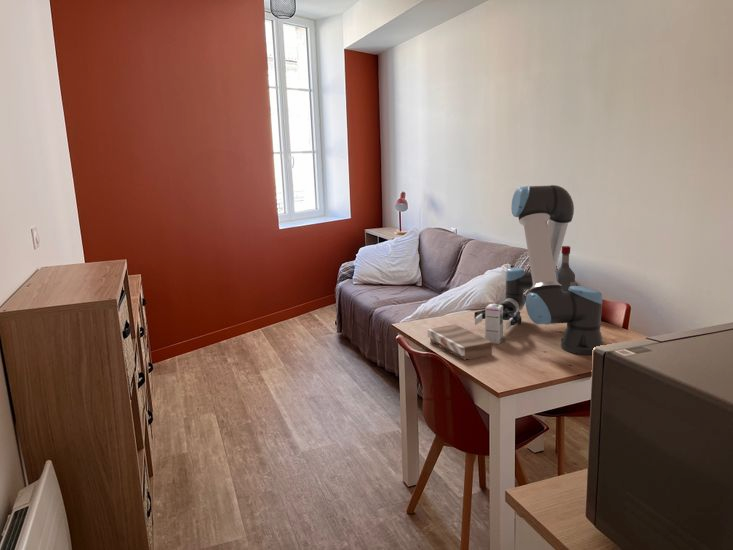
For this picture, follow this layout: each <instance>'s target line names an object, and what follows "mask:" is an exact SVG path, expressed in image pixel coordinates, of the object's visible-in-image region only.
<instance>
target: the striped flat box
mask: <svg viewBox="0 0 733 550" xmlns="http://www.w3.org/2000/svg"><path fill="white" fill-rule="evenodd" d="M427 337H428V338H429V339H430V340H431V341H430V340H429V341H430V342H432V341H433V342H435V343H436V344H435V343H434V344H435V345H437V344H438V345H440V346H441V347H440V346H439V347H440V348H442V347H443V348H442V349H444V348H445V349H446V351H447V350H448V351H447V352H449V351H450V352H449V353H451V352H452V353H453V355H454V354H455V355H454V356H456V355H457V356H456V357H458V356H459V357H461V358H462V359H461V358H460V359H461V360H463V359H464V360H465V361H467V360H466V359H470V360H473V358H474V359H478V357H479V358H483V357H487V356H492V355H493V343H492V342H491V341H489V340H487V339H485V337H482V336H480V335H479V334H477V333H474V332H472V331H470V330H468V329H466V328H464V327H462V326H459V325H458V324H456V323H455V324H450V325H445V326H439V327H433V328H428V329H427ZM433 342H432V343H433ZM438 345H437V346H438ZM445 349H444V350H445ZM452 353H451V354H452ZM459 357H458V358H459ZM464 360H463V361H464Z"/></svg>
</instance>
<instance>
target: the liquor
mask: <svg viewBox="0 0 733 550" xmlns="http://www.w3.org/2000/svg"><path fill="white" fill-rule="evenodd" d="M570 254H571V246H569V245H562V247H561V265H560V267H559V268H558V269H557V270H555V272H556V273H557V275H558V283H559V284H561V285H562V289H563V291H564V292H566V291H569V290H568V289H569V287H570V286H576V285H575V284H576V275H575V272H574V271H573V270H572V268H571V267H570V263H569V262H570Z"/></svg>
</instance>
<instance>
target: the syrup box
mask: <svg viewBox="0 0 733 550" xmlns="http://www.w3.org/2000/svg"><path fill="white" fill-rule="evenodd" d="M484 309H485V319H484V320H485V323H484V325H485V328H484V329H485V330H484V332H485V333H484V334H485V336H484V338H485V339H487V340H489V341H491V342H492V344H496V345H497V344H498V345H499V344H500V343H501V342H502V341H503V339H504V337H503V336H504V333H503V332H504V320H503V305H500V303H489V304H488V305H486V307H485V308H484Z"/></svg>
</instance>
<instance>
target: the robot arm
mask: <svg viewBox="0 0 733 550" xmlns="http://www.w3.org/2000/svg"><path fill="white" fill-rule="evenodd" d="M510 207H511V213H512V216H513V217H515V218H518V222H519V224H520V225H522V226H523V229H524V230H523V231H524V235H525V241H526V242H525V243H526V247H527V253H528V254H527V255H528V261H529V269H530V271H528V272H525V269H524V268H523V267H522V268H521V267H509V268H508V269H506V274H505V295H504V296H505V297H504V298H505V299H504V300H502V301H501V302H499V304H500V305H503V321H506V322H505V329H506V330H509V329H510V328H511V327H512V326H515V325H517V324H518V325H519V326H521V325H522V319H523V318H522V316H521V310H523V309H524V306H525V309H526V313H527V315H528V317H529V319H530V320H531V321H532V322H533V323H535V324H537V325H545V326H547V325H550V324H554V325H555V324H566V328H565V330H564V333H563V335H562V337H561V340H560V347H561V348H562V350H563V351H566V352H568V353H573V354H576V353H577V355H584V354H588V356H589V354H591V355H592V350H593V348H594V347H596V346H600V345H604V346H605V343H604V340H603V336H602V332H601V323H602V309H603V308H602V307H603V295H602V292H600V291H599V290H598V289H596V288H592V287H587V286H582V285H581V286H580V285H575V286H570V287H569V289H568V290H569V291H566V292H564V291H563V289H562V285H561V284H559V283H558V275H557V273H556V268H557V265H558V261H559V258H560V254H561V252H562V246H563V244H564V243H563V242H564V240H565V236H566V232H567V229H568V225H569V223H571V222H572V221H573V218H574V213H575V206H574V202H573V197H572V196H571V195H570V193H569V192H568V191H567V189H565V188H564V187H561V186H559V185H554V184H551V185H526V186H518V187H517V188H516V189H515V191H514V193H513V195H512V199H511V206H510ZM527 290H528V291H529V293H528V294H526V297H525V296H524V292H525V291H527ZM483 320H485V308H484V309H482V310H478V311H474V325H475V326H477V325H478V324H479V323H481V322H482V321H483ZM591 355H590V356H591Z"/></svg>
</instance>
